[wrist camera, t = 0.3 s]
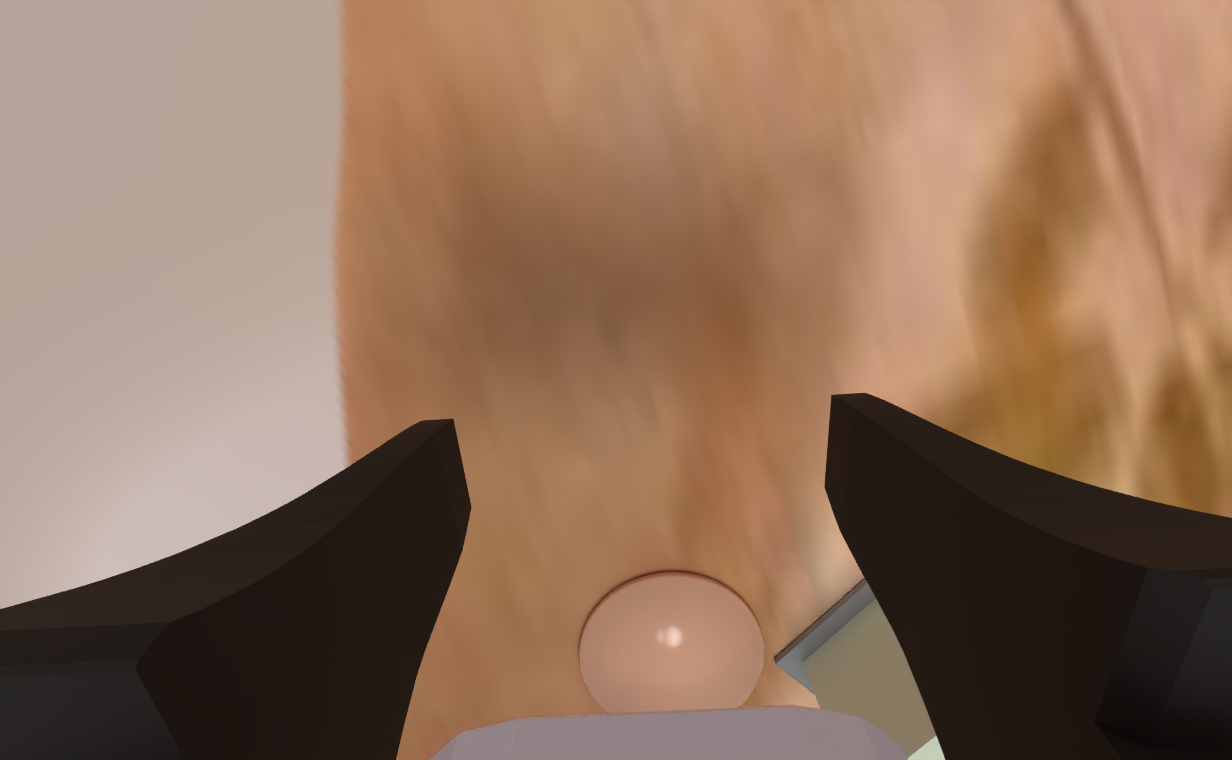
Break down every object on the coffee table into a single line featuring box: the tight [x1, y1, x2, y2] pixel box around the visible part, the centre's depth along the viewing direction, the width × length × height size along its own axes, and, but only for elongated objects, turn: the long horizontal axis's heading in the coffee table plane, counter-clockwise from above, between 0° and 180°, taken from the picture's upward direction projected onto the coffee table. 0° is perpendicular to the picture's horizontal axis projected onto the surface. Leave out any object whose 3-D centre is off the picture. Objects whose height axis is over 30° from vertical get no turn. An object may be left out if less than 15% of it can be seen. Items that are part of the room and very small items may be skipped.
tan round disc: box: [579, 572, 764, 713], centre depth 25 cm, size 8×8×1 cm
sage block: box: [802, 599, 945, 760], centre depth 22 cm, size 5×5×6 cm
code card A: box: [774, 579, 876, 694], centre depth 25 cm, size 6×6×1 cm
